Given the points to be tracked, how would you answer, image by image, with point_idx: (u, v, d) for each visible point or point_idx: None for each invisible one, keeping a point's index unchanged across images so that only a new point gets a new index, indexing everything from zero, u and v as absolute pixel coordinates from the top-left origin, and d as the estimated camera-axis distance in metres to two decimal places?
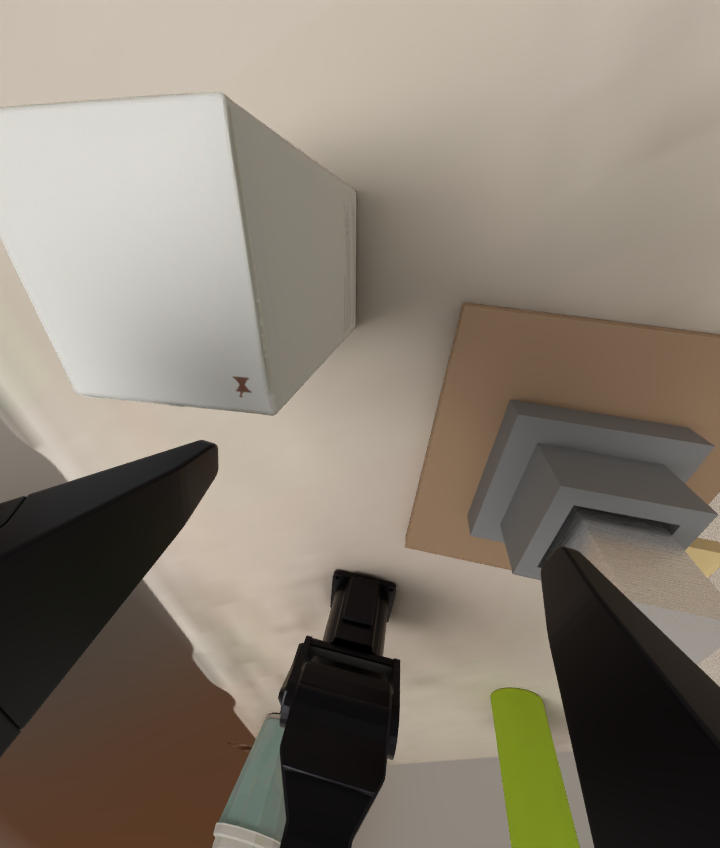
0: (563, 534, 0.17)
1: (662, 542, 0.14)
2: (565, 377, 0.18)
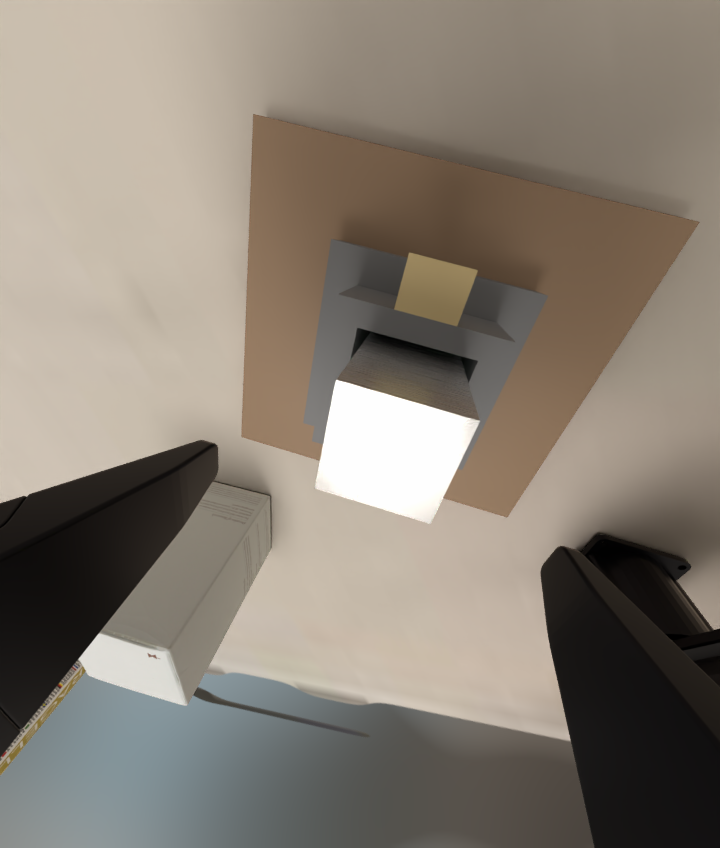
0: None
1: None
2: (291, 366, 0.20)
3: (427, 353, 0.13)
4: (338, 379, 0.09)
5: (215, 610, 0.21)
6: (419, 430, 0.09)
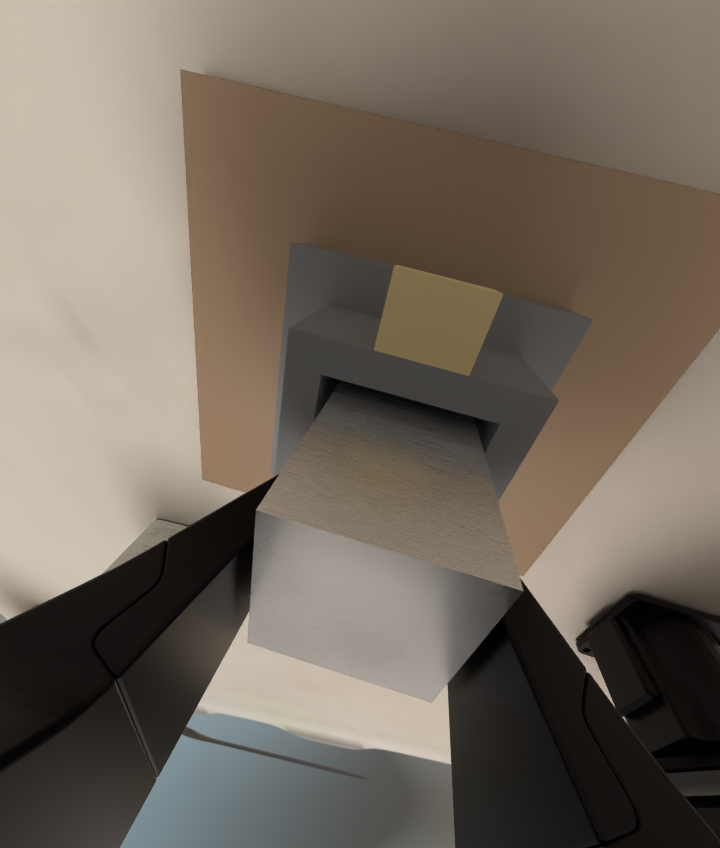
0: None
1: None
2: (255, 400, 0.16)
3: (424, 407, 0.09)
4: (261, 507, 0.05)
5: None
6: (411, 592, 0.05)
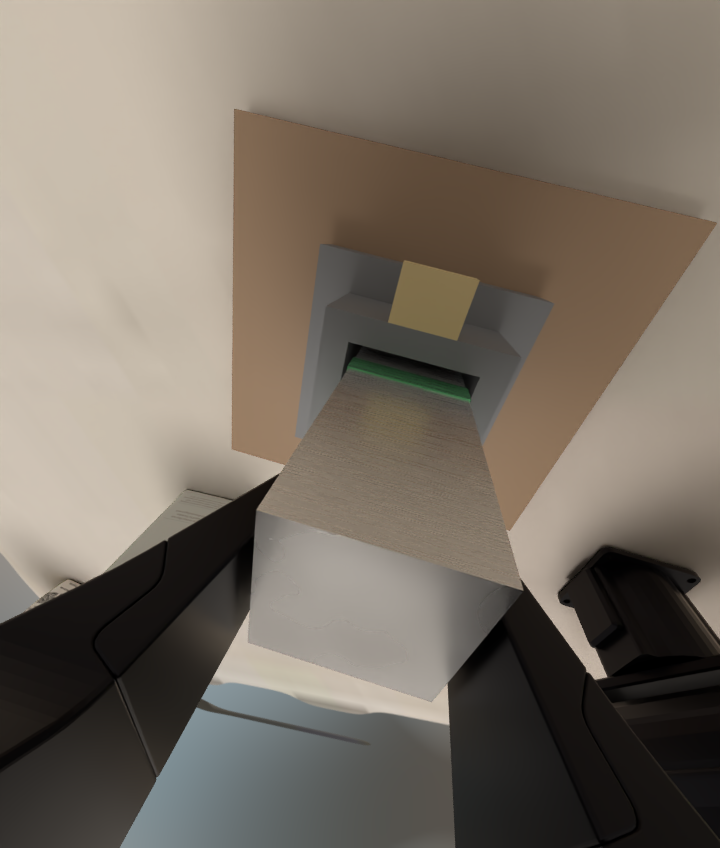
0: None
1: None
2: (281, 377, 0.19)
3: (424, 407, 0.09)
4: (261, 507, 0.05)
5: None
6: (411, 592, 0.05)
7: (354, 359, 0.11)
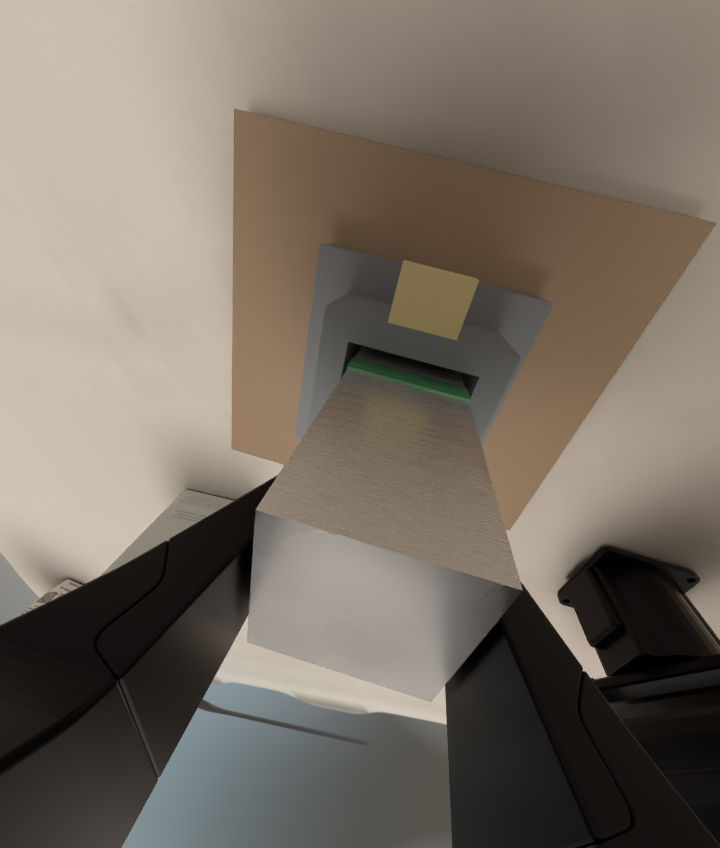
0: None
1: None
2: (281, 377, 0.19)
3: (424, 407, 0.09)
4: (260, 507, 0.05)
5: None
6: (410, 592, 0.05)
7: (354, 359, 0.11)
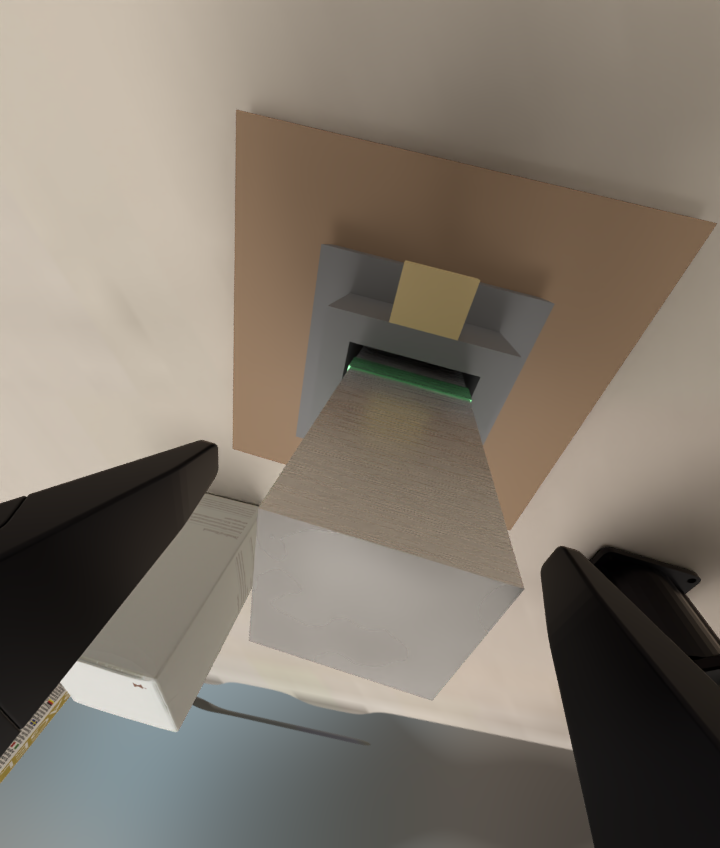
0: None
1: None
2: (282, 377, 0.19)
3: (425, 407, 0.09)
4: (263, 506, 0.05)
5: (206, 632, 0.20)
6: (412, 590, 0.05)
7: (355, 359, 0.11)
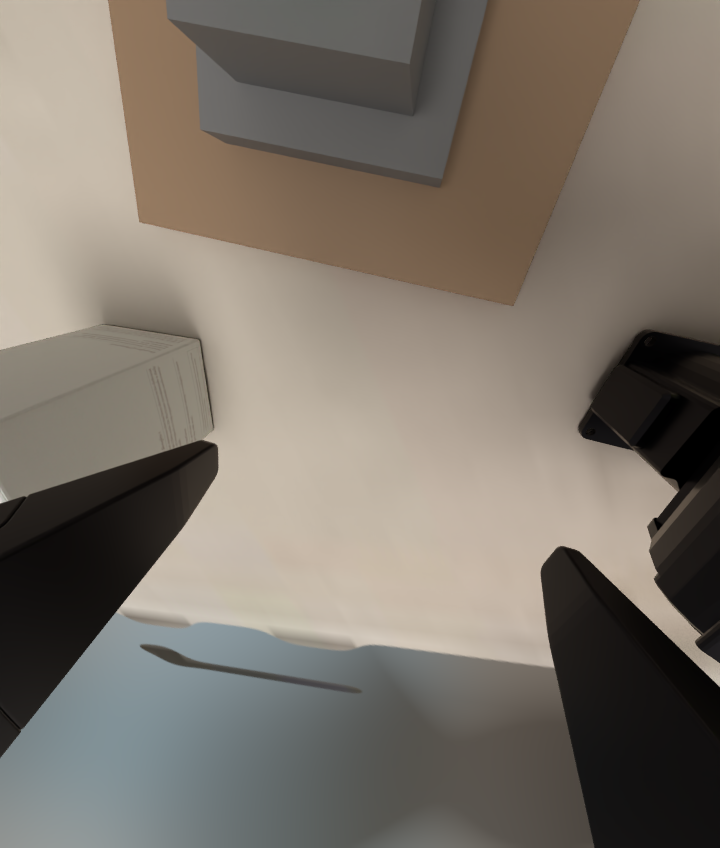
0: None
1: None
2: (183, 58, 0.13)
3: None
4: None
5: (95, 441, 0.15)
6: None
7: None
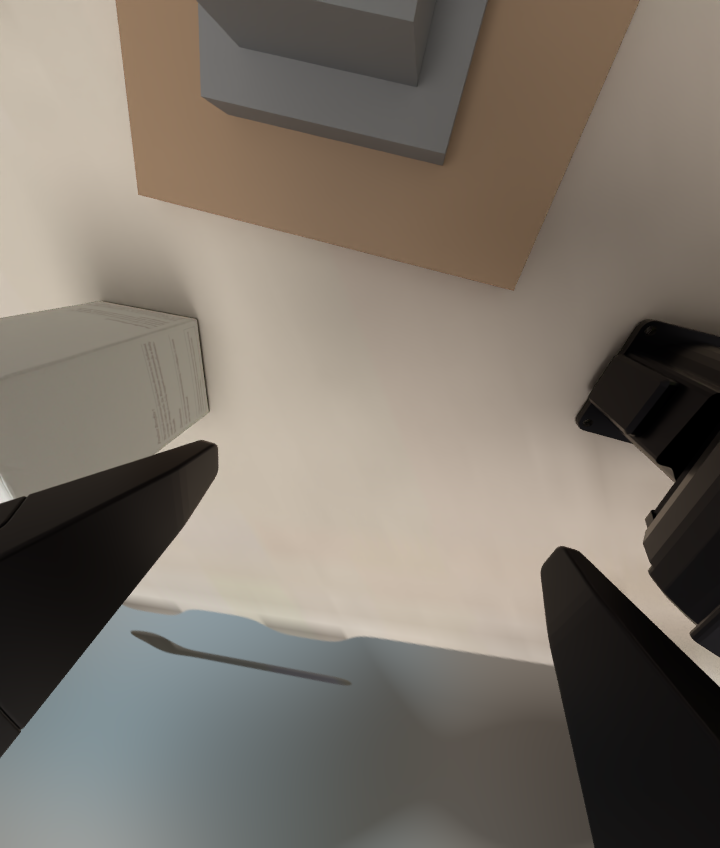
0: None
1: None
2: (186, 24, 0.13)
3: None
4: None
5: (86, 412, 0.14)
6: None
7: None
